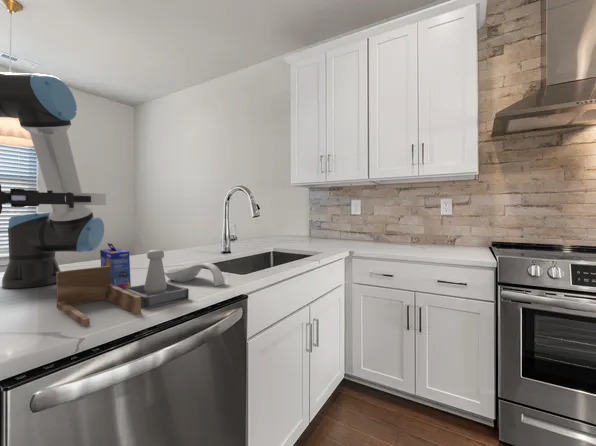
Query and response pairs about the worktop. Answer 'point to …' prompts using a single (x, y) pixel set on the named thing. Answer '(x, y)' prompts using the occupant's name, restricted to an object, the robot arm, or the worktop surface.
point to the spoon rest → (195, 273)
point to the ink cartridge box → (117, 266)
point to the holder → (91, 292)
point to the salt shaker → (155, 274)
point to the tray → (160, 295)
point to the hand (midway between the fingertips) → (94, 199)
